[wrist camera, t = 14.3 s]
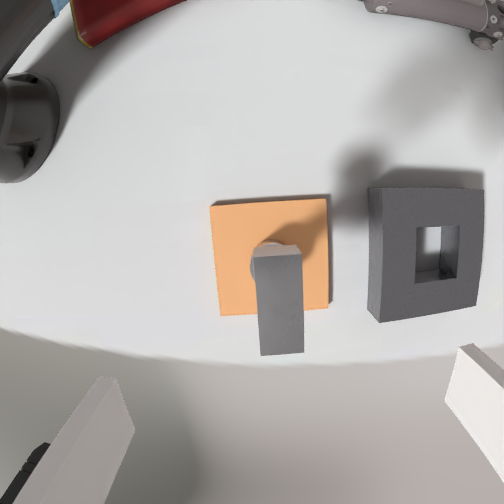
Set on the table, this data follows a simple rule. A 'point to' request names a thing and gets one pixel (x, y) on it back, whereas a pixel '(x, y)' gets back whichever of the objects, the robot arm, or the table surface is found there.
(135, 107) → the table surface
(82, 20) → the hardcover book
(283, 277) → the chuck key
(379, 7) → the hydraulic cylinder
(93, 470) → the robot arm
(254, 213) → the key mat
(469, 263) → the block
